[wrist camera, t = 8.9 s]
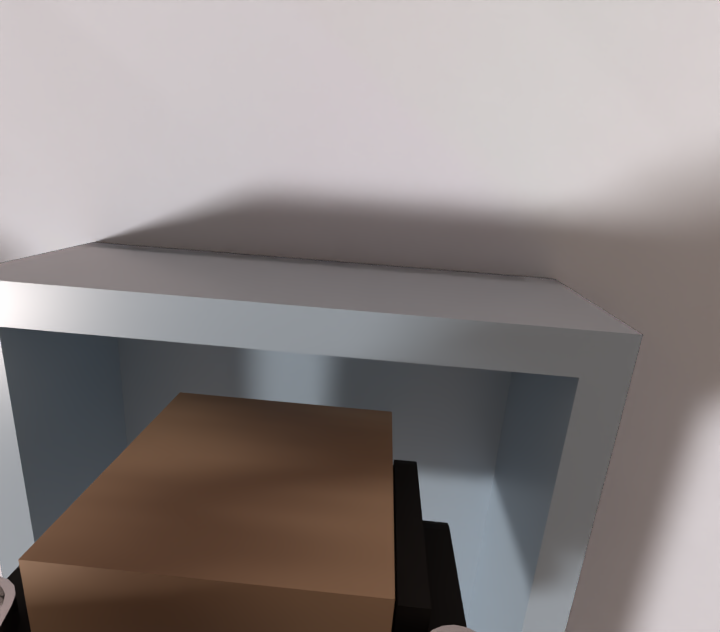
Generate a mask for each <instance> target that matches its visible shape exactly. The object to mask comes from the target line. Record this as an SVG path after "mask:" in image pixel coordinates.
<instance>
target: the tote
mask: <svg viewBox="0 0 720 632" xmlns="http://www.w3.org/2000/svg"><path fill="white" fill-rule="evenodd" d="M642 336H643V334H641V333H639V332H638V331H636V330H635V329H633V328H632V327H630V326H628V325H627V324H625V323H624V322H622V321H620V320H619V319H617V318H616V317H614V316H613V315H611V314H609V313H608V312H606V311H605V310H603V309H601V308H600V307H598V306H597V305H595V304H594V303H592V302H590V301H589V300H587V299H586V298H584V297H582V296H581V295H579V294H578V293H576V292H575V291H573V290H571V289H570V288H568V287H567V286H565V285H564V284H562V283H560V282H559V281H557V280H556V279H548V278H536V277H523V276H510V275H498V274H485V273H473V272H460V271H448V270H435V269H423V268H410V267H398V266H385V265H373V264H360V263H348V262H335V261H323V260H310V259H298V258H285V257H272V256H260V255H247V254H235V253H222V252H210V251H197V250H185V249H172V248H160V247H147V246H135V245H122V244H110V243H97V242H91V243H87V244H82V245H78V246H74V247H69V248H65V249H60V250H56V251H51V252H47V253H42V254H38V255H34V256H29V257H25V258H20V259H16V260H11V261H7V262H2V263H0V565H1V570H2V575H3V578H6V579H7V578H8V577H9V575H10V574H11V573H12V572H13V571H14V570H15V569H16V568H17V567H18V566H19V561H18V559H19V558H20V557H21V556H22V555H23V554H24V553H25V552H26V551H27V550H28V549H29V548H30V547H31V546H32V545H33V544H34V543H35V542H36V541H37V540H38V539H39V538H40V537H41V536H42V534H43V533H44V532H45V531H46V530H47V529H48V528H49V527H50V526H51V525H52V524H53V523H54V522H55V521H56V520H57V519H58V518H59V517H60V516H61V515H62V514H63V513H64V512H65V511H66V510H67V509H68V508H69V507H70V506H71V504H72V503H73V502H74V501H75V500H76V499H77V498H78V497H79V496H80V495H81V494H82V493H83V492H84V491H85V490H86V489H87V488H88V487H89V486H90V485H91V484H92V483H93V482H94V481H95V480H96V479H97V478H98V477H99V476H100V474H101V473H102V472H103V471H104V470H105V469H106V468H107V467H108V466H109V465H110V464H111V463H112V462H113V461H114V460H115V459H116V458H117V457H118V456H119V455H120V454H121V453H122V452H123V451H124V450H125V449H126V448H127V447H128V446H129V445H130V443H131V442H132V441H133V440H134V439H135V438H136V437H137V436H138V435H139V434H140V433H141V432H142V431H143V430H144V429H145V428H146V427H147V426H148V425H149V424H150V423H151V422H152V421H153V420H154V419H155V418H156V417H157V416H158V415H159V413H160V412H161V411H162V410H163V409H164V408H165V407H166V406H167V405H168V404H169V403H170V402H171V401H172V400H173V399H174V398H175V397H176V396H177V395H178V394H179V393H180V392H182V393H193V394H204V395H215V396H226V397H237V398H248V399H259V400H270V401H281V402H292V403H303V404H313V405H324V406H335V407H346V408H357V409H368V410H379V411H390V412H392V447H393V462H394V459H395V460H405V461H416V462H417V469H418V479H419V489H420V499H421V509H422V519H423V520H425V521H435V522H445V523H448V525H449V528H450V534H451V539H452V545H453V551H454V557H455V562H456V568H457V574H458V580H459V585H460V591H461V597H462V603H463V608H464V614H465V620H466V626H467V628H470V629H472V630H474V631H476V632H565V629H566V625H567V622H568V618H569V614H570V610H571V606H572V603H573V599H574V595H575V591H576V587H577V584H578V580H579V576H580V572H581V568H582V565H583V561H584V557H585V553H586V549H587V546H588V542H589V538H590V534H591V530H592V527H593V523H594V519H595V515H596V511H597V508H598V504H599V500H600V496H601V492H602V489H603V485H604V481H605V477H606V473H607V470H608V466H609V462H610V458H611V454H612V451H613V447H614V443H615V439H616V435H617V431H618V428H619V424H620V420H621V416H622V412H623V409H624V405H625V401H626V397H627V393H628V390H629V386H630V382H631V378H632V374H633V371H634V367H635V363H636V359H637V355H638V352H639V348H640V344H641V340H642Z"/></svg>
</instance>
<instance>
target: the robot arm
mask: <svg viewBox="0 0 720 632" xmlns="http://www.w3.org/2000/svg"><path fill="white" fill-rule="evenodd" d="M393 509H394V572H395V603H394V612H393V620H392V628H391V632H476V631H474V630H472V629H470V628H467V626H466V620H465V614H464V608H463V603H462V597H461V591H460V585H459V580H458V574H457V568H456V562H455V557H454V551H453V545H452V539H451V534H450V528H449V525H448V523H445V522H435V521H425V520H423V519H422V509H421V499H420V489H419V479H418V469H417V462H416V461H405V460H395V459H394V462H393ZM0 632H31V628H30V623H29V617H28V612H27V606H26V600H25V595H24V589H23V583H22V578H21V572H20V567H19V566H18V567H17V568H16V569H15V570H14V571H13V572H12V573H11V574H10V575H9V577H8V578H7V579H6V578H3V577H0Z"/></svg>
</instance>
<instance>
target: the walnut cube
mask: <svg viewBox="0 0 720 632" xmlns="http://www.w3.org/2000/svg"><path fill="white" fill-rule="evenodd" d="M18 561H19V567H20V572H21V578H22V583H23V589H24V595H25V600H26V606H27V612H28V617H29V623H30V628H31V632H391V628H392V620H393V612H394V603H395V572H394V509H393V447H392V412H390V411H379V410H368V409H357V408H346V407H335V406H324V405H313V404H303V403H292V402H281V401H270V400H259V399H248V398H237V397H226V396H215V395H204V394H193V393H182V392H180V393H179V394H178V395H177V396H176V397H175V398H174V399H173V400H172V401H171V402H170V403H169V404H168V405H167V406H166V407H165V408H164V409H163V410H162V411H161V412H160V413H159V415H158V416H157V417H156V418H155V419H154V420H153V421H152V422H151V423H150V424H149V425H148V426H147V427H146V428H145V429H144V430H143V431H142V432H141V433H140V434H139V435H138V436H137V437H136V438H135V439H134V440H133V441H132V442H131V443H130V445H129V446H128V447H127V448H126V449H125V450H124V451H123V452H122V453H121V454H120V455H119V456H118V457H117V458H116V459H115V460H114V461H113V462H112V463H111V464H110V465H109V466H108V467H107V468H106V469H105V470H104V471H103V472H102V473H101V474H100V476H99V477H98V478H97V479H96V480H95V481H94V482H93V483H92V484H91V485H90V486H89V487H88V488H87V489H86V490H85V491H84V492H83V493H82V494H81V495H80V496H79V497H78V498H77V499H76V500H75V501H74V502H73V503H72V504H71V506H70V507H69V508H68V509H67V510H66V511H65V512H64V513H63V514H62V515H61V516H60V517H59V518H58V519H57V520H56V521H55V522H54V523H53V524H52V525H51V526H50V527H49V528H48V529H47V530H46V531H45V532H44V533H43V534H42V536H41V537H40V538H39V539H38V540H37V541H36V542H35V543H34V544H33V545H32V546H31V547H30V548H29V549H28V550H27V551H26V552H25V553H24V554H23V555H22V556H21V557H20V558H19V559H18Z"/></svg>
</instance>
